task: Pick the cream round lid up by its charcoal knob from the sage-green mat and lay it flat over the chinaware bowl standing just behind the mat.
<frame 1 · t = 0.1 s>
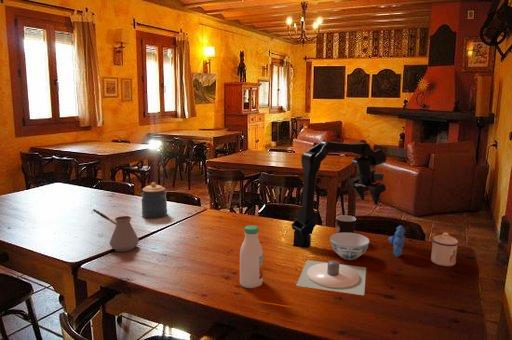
hand: (369, 202, 184), 15 cm above the table, tool pointing down, fingers open, 9 cm apart
lid: (332, 276, 143), point 1 cm above the table, touching mat
coffee pot: (115, 246, 170), on the table
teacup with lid: (443, 261, 159), on the table
chinaware: (348, 258, 161), on the table
mat: (332, 277, 143), on the table
blue lumpy piece: (395, 255, 165), on the table
coffee mug: (344, 239, 182), on the table
milk bottle: (251, 284, 138), on the table
canister: (154, 215, 214), on the table
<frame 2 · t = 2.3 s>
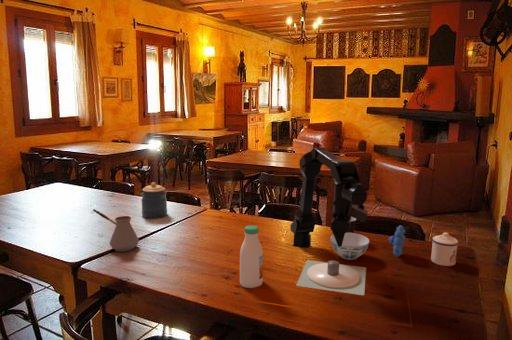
hand: (340, 241, 141), 13 cm above the table, tool pointing down, fingers open, 9 cm apart
nothing on the table moved.
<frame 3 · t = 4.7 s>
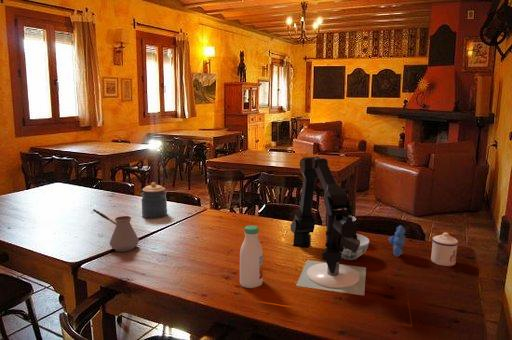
hand: (333, 270, 143), 3 cm above the table, tool pointing down, fingers closed on lid, 4 cm apart
lid: (332, 276, 143), point 1 cm above the table, touching gripper, mat
everything else where it was.
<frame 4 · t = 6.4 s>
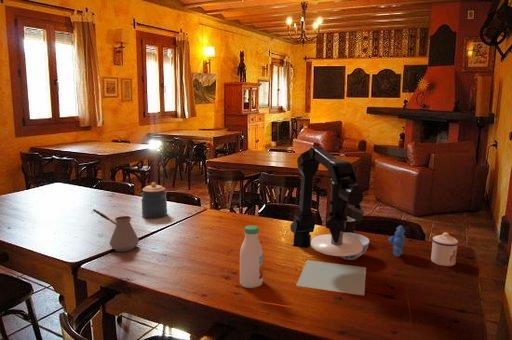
hand: (336, 240, 144), 13 cm above the table, tool pointing down, fingers closed on lid, 4 cm apart
lid: (336, 245, 144), point 11 cm above the table, touching gripper
everything else where it was.
when the fingers open (11 cm above the table, at t = 8.4 s): lid drops 2 cm, resting on chinaware.
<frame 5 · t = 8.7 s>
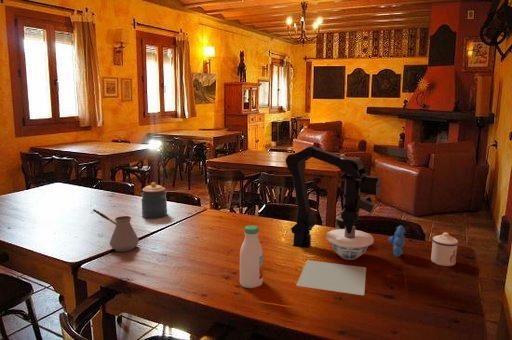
hand: (349, 230, 159), 11 cm above the table, tool pointing down, fingers open, 7 cm apart
lid: (349, 239, 160), point 8 cm above the table, touching chinaware
chinaware: (348, 258, 161), on the table, touching lid
everything else where it was.
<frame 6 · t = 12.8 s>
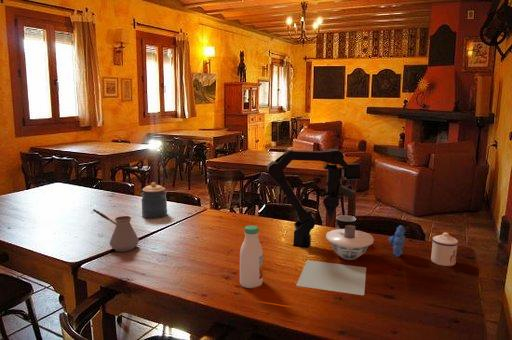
hand: (332, 216, 171), 13 cm above the table, tool pointing down, fingers open, 9 cm apart
nothing on the table moved.
at the end: lid 0.1 cm off-centre on the chinaware, point 7.9 cm above the chinaware's base; lid tilted 0°; the gripper is holding nothing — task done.
